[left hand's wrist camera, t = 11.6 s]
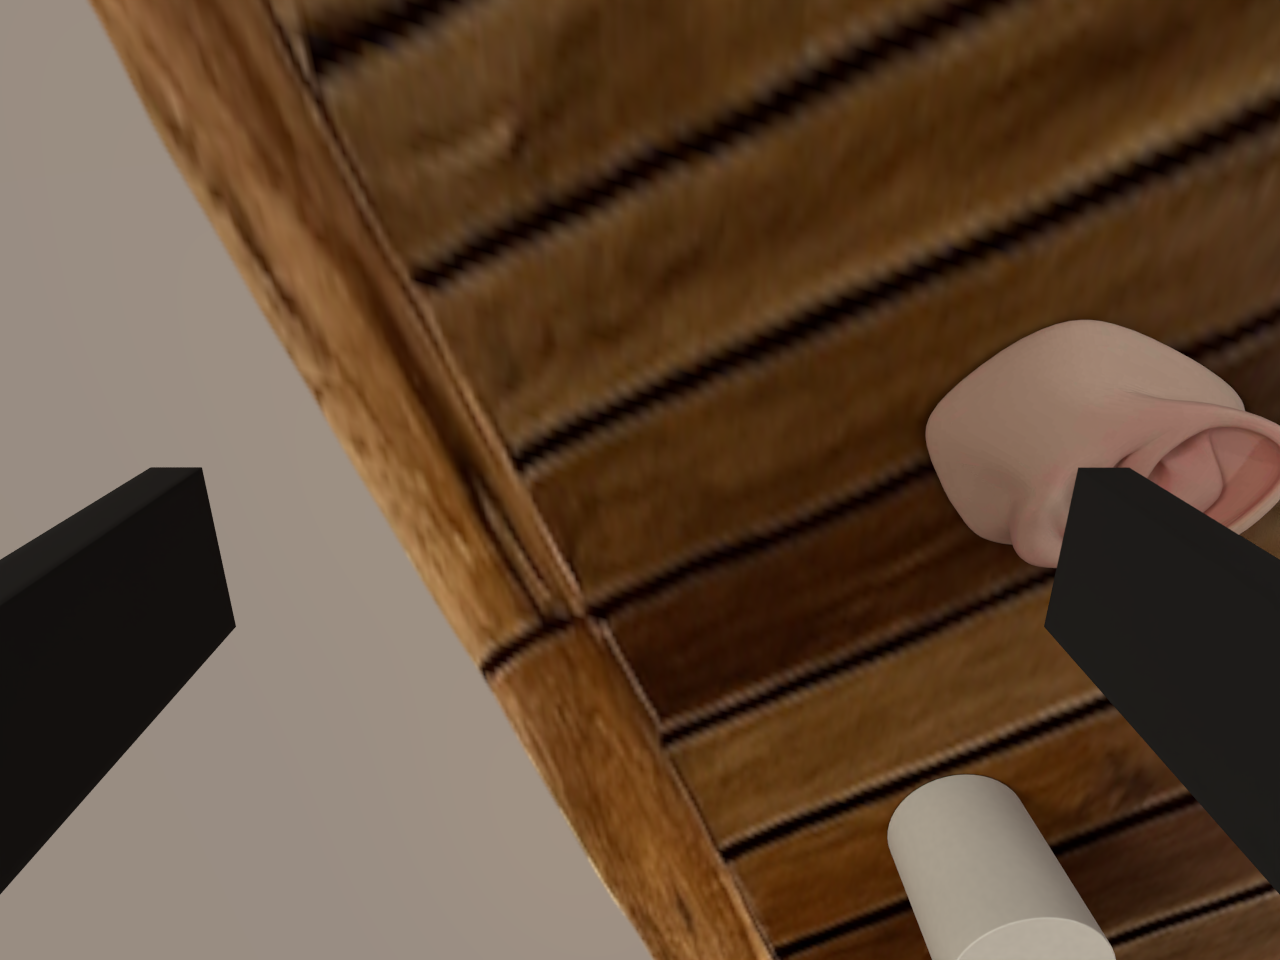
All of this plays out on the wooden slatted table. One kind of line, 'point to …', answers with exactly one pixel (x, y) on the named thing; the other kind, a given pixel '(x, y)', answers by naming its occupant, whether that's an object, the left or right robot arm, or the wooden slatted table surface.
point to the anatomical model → (1095, 434)
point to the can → (987, 877)
